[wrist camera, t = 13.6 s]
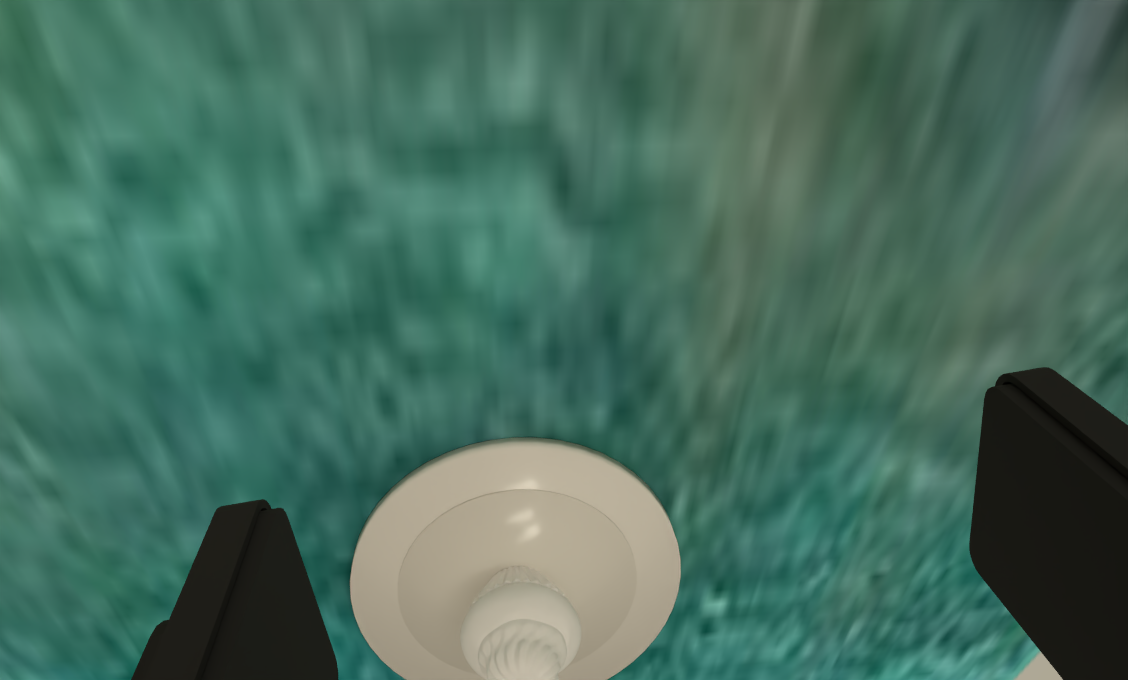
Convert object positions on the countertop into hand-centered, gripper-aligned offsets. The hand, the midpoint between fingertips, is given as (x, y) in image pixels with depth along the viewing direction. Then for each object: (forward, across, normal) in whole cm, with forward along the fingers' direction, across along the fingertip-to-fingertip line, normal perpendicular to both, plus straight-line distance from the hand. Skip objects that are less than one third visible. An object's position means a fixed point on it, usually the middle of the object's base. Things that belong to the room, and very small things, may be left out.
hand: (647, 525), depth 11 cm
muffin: (+27, +4, +25) cm, 37 cm away
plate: (+28, +4, +25) cm, 38 cm away
